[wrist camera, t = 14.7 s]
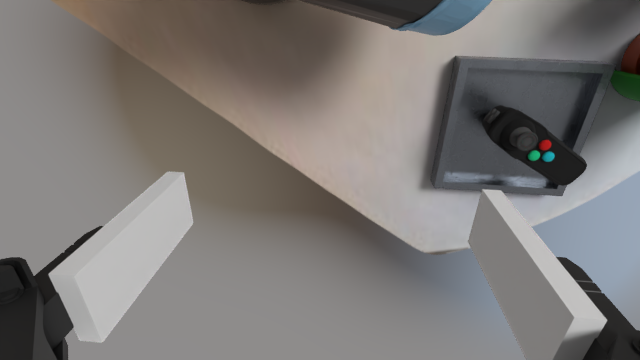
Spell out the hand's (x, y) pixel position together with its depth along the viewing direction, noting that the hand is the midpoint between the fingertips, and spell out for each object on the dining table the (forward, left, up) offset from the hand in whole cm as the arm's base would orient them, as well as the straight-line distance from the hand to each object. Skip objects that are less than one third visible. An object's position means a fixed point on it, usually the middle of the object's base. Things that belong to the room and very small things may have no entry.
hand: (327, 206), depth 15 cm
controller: (+5, +22, -31) cm, 38 cm away
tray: (+5, +22, -32) cm, 39 cm away
